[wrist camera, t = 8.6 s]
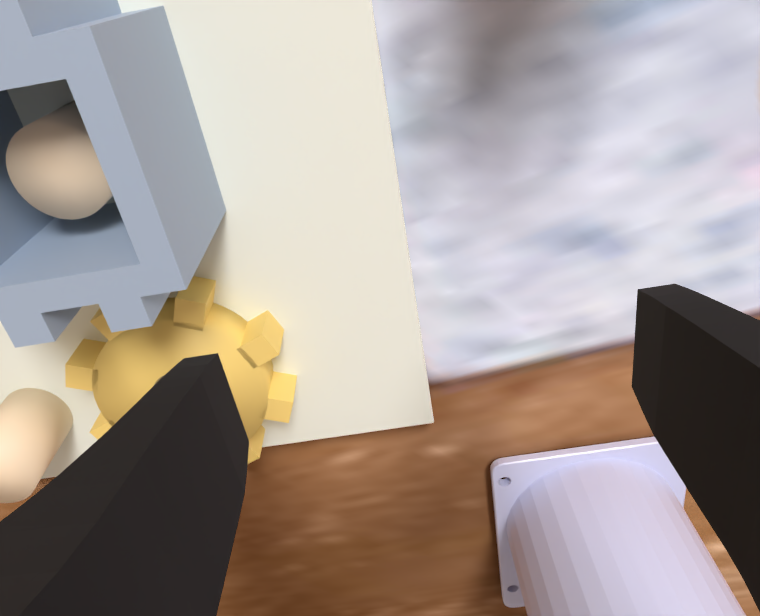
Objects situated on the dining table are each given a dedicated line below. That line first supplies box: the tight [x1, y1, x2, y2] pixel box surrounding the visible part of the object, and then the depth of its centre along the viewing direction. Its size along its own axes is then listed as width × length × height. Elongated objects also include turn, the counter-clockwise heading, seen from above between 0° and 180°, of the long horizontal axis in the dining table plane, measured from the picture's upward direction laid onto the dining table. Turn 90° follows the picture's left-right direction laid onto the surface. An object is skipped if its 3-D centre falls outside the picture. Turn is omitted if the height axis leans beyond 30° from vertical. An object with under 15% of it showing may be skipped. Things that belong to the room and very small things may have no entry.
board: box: [0, 0, 434, 503], centre depth 18 cm, size 18×16×4 cm
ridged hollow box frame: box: [0, 0, 226, 348], centre depth 15 cm, size 7×6×5 cm
